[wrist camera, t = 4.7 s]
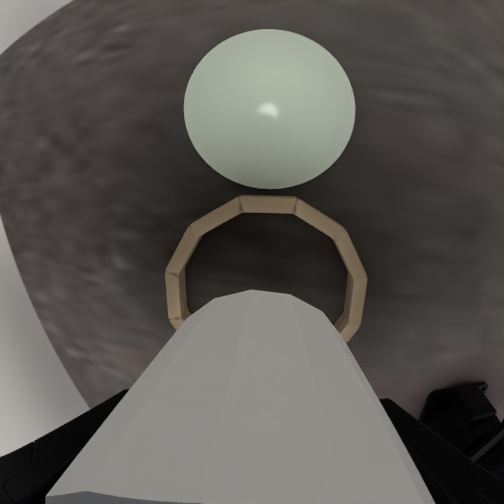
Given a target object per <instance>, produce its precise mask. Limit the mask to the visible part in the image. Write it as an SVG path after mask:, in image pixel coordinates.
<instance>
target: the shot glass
mask: <svg viewBox="0 0 504 504" xmlns="http://www.w3.org/2000/svg"><path fill="white" fill-rule="evenodd" d="M45 498H46V504H435V502H434V500H433V498H432V496H431V494H430V492H429V490H428V488H427V487H426V485H425V483H424V481H423V479H422V477H421V475H420V473H419V471H418V470H417V468H416V466H415V464H414V462H413V460H412V458H411V457H410V455H409V453H408V451H407V449H406V447H405V446H404V444H403V442H402V440H401V438H400V437H399V435H398V433H397V431H396V429H395V428H394V426H393V424H392V422H391V420H390V419H389V417H388V415H387V413H386V412H385V410H384V408H383V406H382V405H381V403H380V401H379V399H378V398H377V396H376V394H375V392H374V391H373V389H372V387H371V385H370V384H369V382H368V380H367V378H366V377H365V375H364V373H363V372H362V370H361V368H360V366H359V365H358V363H357V361H356V360H355V358H354V356H353V355H352V353H351V351H350V349H349V348H348V346H347V344H346V343H345V341H344V339H343V338H342V336H341V335H340V334H339V332H338V331H337V330H336V328H335V327H334V326H333V324H332V323H331V322H330V321H329V319H328V318H327V317H326V315H325V314H324V313H323V312H322V311H320V310H319V309H317V308H315V307H313V306H311V305H309V304H307V303H305V302H304V301H302V300H300V299H298V298H296V297H294V296H292V295H291V294H283V293H275V292H267V291H259V290H247V291H243V292H239V293H235V294H231V295H227V296H222V297H218V298H214V299H213V300H211V301H210V302H209V303H207V304H206V305H204V306H203V307H202V308H200V309H199V310H198V311H196V312H195V313H193V314H192V315H191V316H189V317H188V318H187V319H186V320H185V321H184V322H183V324H182V325H181V326H180V327H179V329H178V330H177V331H176V332H175V334H174V335H173V336H172V337H171V339H170V340H169V341H168V342H167V344H166V345H165V346H164V347H163V349H162V350H161V351H160V352H159V354H158V355H157V356H156V357H155V358H154V360H153V361H152V362H151V363H150V365H149V366H148V367H147V368H146V370H145V371H144V372H143V373H142V375H141V376H140V377H139V378H138V380H137V381H136V382H135V384H134V385H133V386H132V387H131V389H130V390H129V391H128V392H127V394H126V395H125V396H124V397H123V399H122V400H121V401H120V402H119V404H118V405H117V406H116V407H115V409H114V410H113V411H112V412H111V414H110V415H109V416H108V417H107V419H106V420H105V421H104V423H103V424H102V425H101V426H100V428H99V429H98V430H97V431H96V433H95V434H94V435H93V436H92V438H91V439H90V440H89V442H88V443H87V444H86V445H85V447H84V448H83V449H82V450H81V452H80V453H79V454H78V456H77V457H76V458H75V459H74V461H73V462H72V463H71V464H70V466H69V467H68V468H67V470H66V471H65V472H64V473H63V475H62V476H61V477H60V479H59V480H58V481H57V482H56V484H55V485H54V486H53V488H52V489H51V490H50V491H49V493H48V494H47V495H46V497H45Z"/></svg>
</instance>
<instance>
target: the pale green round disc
mask: <svg viewBox="0 0 504 504" xmlns="http://www.w3.org/2000/svg"><path fill="white" fill-rule="evenodd" d="M184 118H185V123H186V128H187V131H188V134H189V137H190V139H191V141H192V143H193V145H194V147H195V149H196V150H197V152H198V153H199V155H200V156H201V157H202V158H203V159H204V160H205V162H206V163H207V164H208V165H210V166H211V167H212V168H213V169H214V170H215V171H217V172H218V173H220V174H221V175H223V176H224V177H226V178H228V179H230V180H232V181H234V182H237V183H239V184H242V185H245V186H249V187H254V188H262V189H281V188H287V187H292V186H295V185H299V184H302V183H304V182H307V181H309V180H311V179H313V178H315V177H316V176H318V175H320V174H321V173H323V172H324V171H325V170H326V169H328V168H329V167H330V166H331V165H332V164H333V163H334V162H335V161H336V160H337V159H338V158H339V156H340V155H341V153H342V152H343V150H344V149H345V147H346V145H347V143H348V141H349V139H350V136H351V133H352V130H353V126H354V121H355V100H354V95H353V91H352V87H351V84H350V82H349V79H348V77H347V75H346V73H345V72H344V70H343V68H342V67H341V66H340V64H339V63H338V61H337V60H336V59H335V58H334V57H333V56H332V55H331V54H330V53H329V52H328V51H327V50H325V49H324V48H323V47H322V46H320V45H319V44H317V43H316V42H314V41H312V40H310V39H308V38H306V37H304V36H302V35H299V34H295V33H292V32H288V31H283V30H272V29H266V30H255V31H249V32H245V33H242V34H238V35H236V36H234V37H231V38H229V39H227V40H225V41H224V42H222V43H220V44H219V45H217V46H216V47H215V48H213V49H212V50H211V51H210V52H209V53H208V54H207V55H206V56H205V57H204V58H203V59H202V60H201V61H200V63H199V64H198V65H197V67H196V68H195V70H194V72H193V74H192V76H191V78H190V80H189V83H188V85H187V89H186V93H185V100H184Z"/></svg>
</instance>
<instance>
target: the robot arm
mask: <svg viewBox="0 0 504 504" xmlns="http://www.w3.org/2000/svg"><path fill="white" fill-rule="evenodd" d="M487 388H488V385H487V384H486V383H485V382H482V383H477V384H472V385H468V386H463V387H457V388H452V389H446V390H440V391H435V392H433V393H431V394H430V396H429V398H428V401H427V403H426V405H425V408H424V410H423V413H422V415H421V417H420V420H419V421H418V420H417V419H416V418H414V417H413V416H412V415H410V414H409V413H408V412H406V411H405V410H404V409H402V408H401V407H400V406H399V405H397V404H396V403H395V402H393V401H392V400H391V399H389V398H384V399H379V401H380V403H381V405H382V406H383V408H384V410H385V412H386V413H387V415H388V417H389V419H390V420H391V422H392V424H393V426H394V428H395V429H396V431H397V433H398V435H399V437H400V438H401V440H402V442H403V444H404V446H405V447H406V449H407V451H408V453H409V455H410V457H411V458H412V460H413V462H414V464H415V466H416V468H417V470H418V471H419V473H420V475H421V477H422V479H423V481H424V483H425V485H426V487H427V488H428V490H429V492H430V494H431V496H432V498H433V500H434V502H435V504H504V419H503V420H502V421H503V422H502V423H501V422H500V421H499V419H498V418H497V416H496V414H497V411H496V410H495V408H494V407H493V406H492V404H491V403H490V402H489V400H488V399H487V398H486V396H485V395H484V394H485V392H486V390H487ZM128 391H129V389H125V390H123V391H121V392H119V393H118V394H116V395H114V396H113V397H111V398H109V399H108V400H106V401H104V402H103V403H101V404H99V405H97V406H96V407H94V408H92V409H90V410H89V411H87V412H85V413H84V414H82V415H80V416H78V417H76V418H75V419H73V420H71V421H70V422H68V423H66V424H64V425H62V426H60V427H59V428H57V429H55V430H53V431H51V432H50V433H48V434H46V435H44V436H42V437H40V438H38V439H37V440H35V441H34V442H31V443H29V444H27V445H25V446H23V447H21V448H19V449H17V450H15V451H13V452H11V453H9V454H6V455H4V456H2V457H0V504H46V498H45V497H46V495H47V494H48V493H49V491H50V490H51V489H52V488H53V486H54V485H55V484H56V482H57V481H58V480H59V479H60V477H61V476H62V475H63V473H64V472H65V471H66V470H67V468H68V467H69V466H70V464H71V463H72V462H73V461H74V459H75V458H76V457H77V456H78V454H79V453H80V452H81V450H82V449H83V448H84V447H85V445H86V444H87V443H88V442H89V440H90V439H91V438H92V436H93V435H94V434H95V433H96V431H97V430H98V429H99V428H100V426H101V425H102V424H103V423H104V421H105V420H106V419H107V417H108V416H109V415H110V414H111V412H112V411H113V410H114V409H115V407H116V406H117V405H118V404H119V402H120V401H121V400H122V399H123V397H124V396H125V395H126V394H127V392H128ZM434 397H435V398H434Z"/></svg>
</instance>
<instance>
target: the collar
mask: <svg viewBox="0 0 504 504" xmlns="http://www.w3.org/2000/svg"><path fill="white" fill-rule="evenodd" d="M242 212H251V213H288V214H295V215H296V216H298V217H299V218H301V219H303V220H304V221H306V222H307V223H309V224H311V225H312V226H314V227H315V228H317V229H318V230H320V231H322V232H323V233H325V234H326V235H328V236H329V237H331V238H332V240H333V242H334V244H335V246H336V248H337V250H338V252H339V254H340V256H341V258H342V260H343V262H344V265H345V267H346V269H347V271H348V279H347V288H346V296H345V304H344V312H343V314H342V315H341V316H340V318H339V319H338V320H337V322H336V323H335V324H334V325H333V326H334V327H335V328H336V330H337V331H338V332H339V334H340V335H341V336H342V338H343V339H344V341H345V343H346V344H347V342H348V341H349V340H350V339H351V337H352V336H353V335H354V334H355V332H356V331H357V330H358V328H359V327H360V326H359V325H361V319H362V313H363V307H364V300H365V293H366V286H367V275H366V273H365V270H364V268H363V266H362V264H361V261H360V259H359V257H358V255H357V252H356V250H355V248H354V246H353V244H352V242H351V239H350V237H349V235H348V233H347V231H346V230H345V229H344V228H343V227H342V226H341V225H340V224H338V223H337V222H335V221H334V220H332V219H331V218H329V217H327V216H326V215H324V214H323V213H321V212H320V211H318V210H317V209H315V208H313V207H312V206H310V205H309V204H307V203H306V202H304V201H302V200H301V199H299V198H298V197H295V196H271V195H241V196H238V197H236V198H235V199H233V200H231V201H229V202H227V203H226V204H224V205H222V206H220V207H219V208H217V209H215V210H213V211H212V212H210V213H208V214H206V215H205V216H203V217H201V218H200V219H198V220H196V221H195V222H193V223H192V224H190V226H188V228H187V230H186V232H185V234H184V236H183V237H182V239H181V241H180V243H179V245H178V247H177V249H176V251H175V253H174V254H173V256H172V258H171V260H170V262H169V264H168V266H167V268H166V270H165V271H166V272H165V281H166V294H167V305H168V316H169V319H170V320H169V321H170V322H171V324H172V325H173V326H174V328H175V329H176V331H177V330H178V329H179V327H180V326H181V325H182V324H183V322H184V321H185V320H186V319H187V318H188V317H189V316H191V315H192V314H191V312H190V311H189V309H188V308H187V298H186V281H185V266H186V265H187V263H188V261H189V259H190V257H191V255H192V254H193V252H194V250H195V248H196V246H197V244H198V243H199V241H200V239H201V237H202V236H203V234H204V233H206V232H208V231H210V230H211V229H213V228H215V227H217V226H219V225H220V224H222V223H224V222H226V221H227V220H229V219H231V218H233V217H235V216H236V215H238V214H240V213H242Z"/></svg>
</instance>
